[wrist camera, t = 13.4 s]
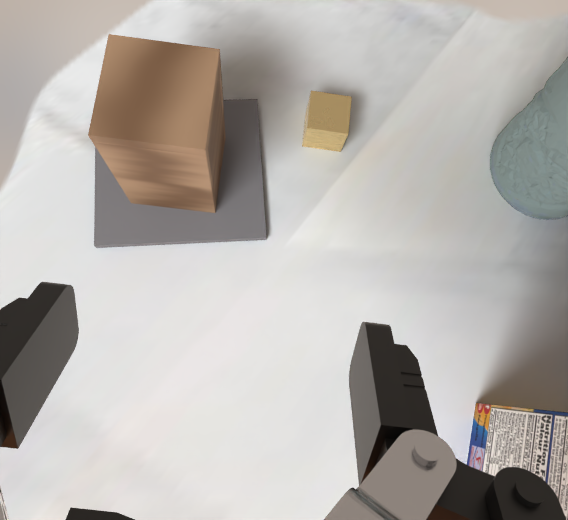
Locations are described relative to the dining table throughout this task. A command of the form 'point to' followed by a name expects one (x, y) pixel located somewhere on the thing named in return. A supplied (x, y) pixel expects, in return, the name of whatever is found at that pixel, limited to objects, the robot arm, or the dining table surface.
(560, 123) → the embossed blue-grey cup
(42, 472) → the dining table surface
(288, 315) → the dining table surface
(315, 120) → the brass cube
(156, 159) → the brown wooden block
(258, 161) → the charcoal mat
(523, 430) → the beverage box
